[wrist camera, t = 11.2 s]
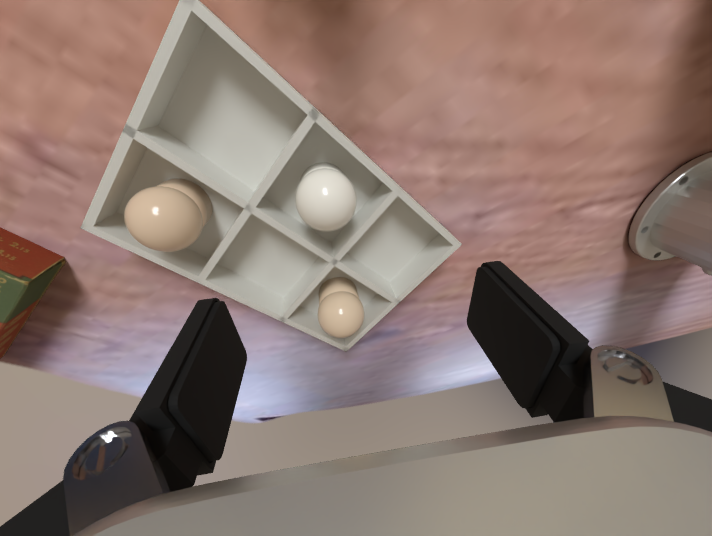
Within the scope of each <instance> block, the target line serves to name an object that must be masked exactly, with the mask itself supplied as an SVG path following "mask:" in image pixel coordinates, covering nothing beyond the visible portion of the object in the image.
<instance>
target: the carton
mask: <svg viewBox="0 0 712 536" xmlns="http://www.w3.org/2000/svg"><path fill="white" fill-rule="evenodd" d="M64 258H65V257H63V256H60V255H58V254H56V253H54V252H52V251H50V250H47V249H45V248H43V247H41V246H39V245H37V244H35V243H33V242H30V241H28V240H26V239H24V238H22V237H20V236H18V235H15V234H13V233H11V232H9V231H7V230H5V229H2V228H0V359H1V358H2V357H3V356H4V355H5V353H6V352H7V350H8V349H9V347H10V345H11V344H12V342H13V341H14V339H15V338H16V336H17V335H18V333H19V332H20V330H21V328H22V327H23V325H24V324H25V322H26V321H27V319H28V318H29V316H30V314H31V313H32V311H33V310H34V308H35V307H36V305H37V304H38V302H39V301H40V299H41V298H42V296H43V294H44V293H45V291H46V290H47V288H48V287H49V285H50V284H51V282H52V281H53V279H54V278H55V276H56V275H57V274H58V272H59V271H60V269H61V268H62V267H63V265H64V264H65V262H66V261H65V260H64Z"/></svg>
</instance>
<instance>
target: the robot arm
mask: <svg viewBox="0 0 712 536" xmlns="http://www.w3.org/2000/svg"><path fill="white" fill-rule="evenodd" d="M629 244H630V247H631V249H632V250H633V252H634V253H636V254H637V255H639V256H641V257H643V258H646V259H649V260H664V259H669V258H672V257H676V256H677V257H679V258H681V259H683V260H686V261H688V262H690V263H693V264H695V265H697V266H699V267H701V268H702V270H703V272H704V273H706V274H708V275H712V152H710V153H707V154H704V155H702V156H700V157H698V158H695V159H693V160H692V161H690V162H688V163H686V164H685V165H683V166H681V167H680V168H679V169H677V170H676V171H675V172H673V173H672V174H670V175H669V176H668V177H667V178H666V179H665V180H663V181H662V182H661V183H660V184H659V185H658V186H657V187H656V188H655V189H654V190H653V191H652V193H651V194H650V195H649V196H648V197H647V198H646V200H645V201H644V202H643V204H642V205H641V206H640V208H639V210H638V212H637V213H636V215H635V217H634V219H633V222H632V224H631V227H630V231H629ZM467 325H468V328H469V330H470V331H471V333H472V334H473V336H474V337H475V339H476V340H477V342H478V343H479V345H480V346H481V348H482V349H483V351H484V352H485V354H486V355H487V357H488V358H489V360H490V362H491V363H492V365H493V366H494V368H495V369H496V371H497V372H498V374H499V375H500V377H501V378H502V380H503V381H504V383H505V384H506V386H507V387H508V389H509V390H510V392H511V394H512V395H513V397H514V398H515V400H516V401H517V403H518V404H519V405H520V406H521V407H522V408H526V410H527V411H528V413H529V414H530V416H531V417H532V418H533V417H538V416H544V415H547V414H549V416H550V417H551V419H552V420H553V423H548V424H542V425H535V426H528V427H522V428H516V429H511V430H505V431H499V432H493V433H487V434H481V435H475V436H469V437H463V438H458V439H452V440H446V441H440V442H434V443H428V444H423V445H417V446H411V447H405V448H400V449H394V450H388V451H383V452H377V453H371V454H366V455H360V456H354V457H348V458H343V459H337V460H332V461H326V462H320V463H315V464H309V465H304V466H299V467H293V468H287V469H282V470H276V471H270V472H265V473H260V474H254V475H249V476H244V477H239V478H234V479H228V480H224V481H218V482H213V483H208V484H203V485H199V486H193V485H194V483H195V480H196V476H197V475H202V474H208V473H213V470H214V467H215V463H216V460H219V459H220V458H221V457H222V454H223V451H224V447H225V443H226V439H227V435H228V431H229V428H230V424H231V420H232V416H233V412H234V408H235V404H236V400H237V397H238V393H239V389H240V385H241V381H242V377H243V373H244V369H245V366H246V361H247V354H246V350H245V348H244V346H243V343H242V341H241V339H240V336H239V334H238V332H237V329H236V327H235V325H234V322H233V320H232V318H231V316H230V313H229V311H228V309H227V306H226V304H225V302H224V301H219V299H218V298H212V299H204V300H199V301H198V302H197V303H196V305H195V307H194V309H193V310H192V312H191V314H190V316H189V317H188V319H187V321H186V323H185V324H184V326H183V328H182V330H181V331H180V333H179V335H178V337H177V338H176V340H175V342H174V344H173V345H172V347H171V349H170V350H169V352H168V354H167V356H166V357H165V359H164V361H163V363H162V364H161V366H160V368H159V370H158V371H157V373H156V375H155V377H154V378H153V380H152V382H151V384H150V385H149V387H148V389H147V391H146V392H145V394H144V396H143V398H142V399H141V401H140V403H139V405H138V406H137V408H136V410H135V412H134V413H133V415H132V417H131V419H130V420H129V421H119V422H116V423H113V424H110V425H108V426H106V427H104V428H102V429H100V430H99V431H97V432H96V433H94V434H93V435H92V436H90V437H89V438H88V439H86V441H84V443H82V444H81V445H80V446H79V448H77V450H76V451H75V452H74V454H73V455H72V456H71V457H70V459H69V461H68V463H67V465H66V467H65V469H64V476H63V481H61V482H60V483H59V484H57V485H56V486H55V487H53V488H52V489H50V490H49V491H48V492H47V493H45V494H44V495H42V496H41V497H40V498H38V499H37V500H36V501H34V502H33V503H32V504H30V505H29V506H28V507H26V508H25V509H24V510H22V511H21V512H19V513H18V514H17V515H15V516H14V517H13V518H12V519H10V520H9V521H7V522H6V523H5V524H3V525H2V526H1V527H0V536H712V400H711V399H709V398H706V397H703V396H700V395H698V394H695V393H692V392H689V391H687V390H684V389H681V388H679V387H676V386H673V385H670V384H668V383H665V382H662V379H661V376H660V375H659V373H658V371H657V370H656V369H655V368H654V367H653V366H652V365H651V364H650V363H649V362H647V361H646V360H645V359H643V358H642V357H640V356H638V355H637V354H635V353H633V352H631V351H628V350H625V349H623V348H619V347H615V346H603V345H602V346H598V347H595V348H594V349H592V348H591V347H589V346H588V345H587V344H588V343H589V340H588V339H587V338H586V337H584V336H583V335H582V334H581V333H580V332H579V331H578V330H577V329H576V328H574V327H573V326H572V325H571V324H570V323H569V322H568V321H567V320H566V319H564V318H563V317H562V316H561V315H560V314H559V313H558V312H557V311H556V310H554V309H553V308H552V307H551V306H550V305H549V304H548V303H547V302H546V301H544V300H543V299H542V298H541V297H540V296H539V295H538V294H537V293H536V292H534V291H533V290H532V289H531V288H530V287H529V286H528V285H527V284H525V283H524V282H523V281H522V280H521V279H520V278H519V277H518V276H517V275H515V274H514V273H513V272H512V271H511V270H510V269H509V268H508V267H507V266H505V265H504V264H503V263H502V262H501V261H494V262H486V263H483V264H482V265H481V267H479V268H478V269H477V272H476V277H475V282H474V287H473V292H472V297H471V302H470V307H469V312H468V317H467ZM192 486H193V487H192Z"/></svg>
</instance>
